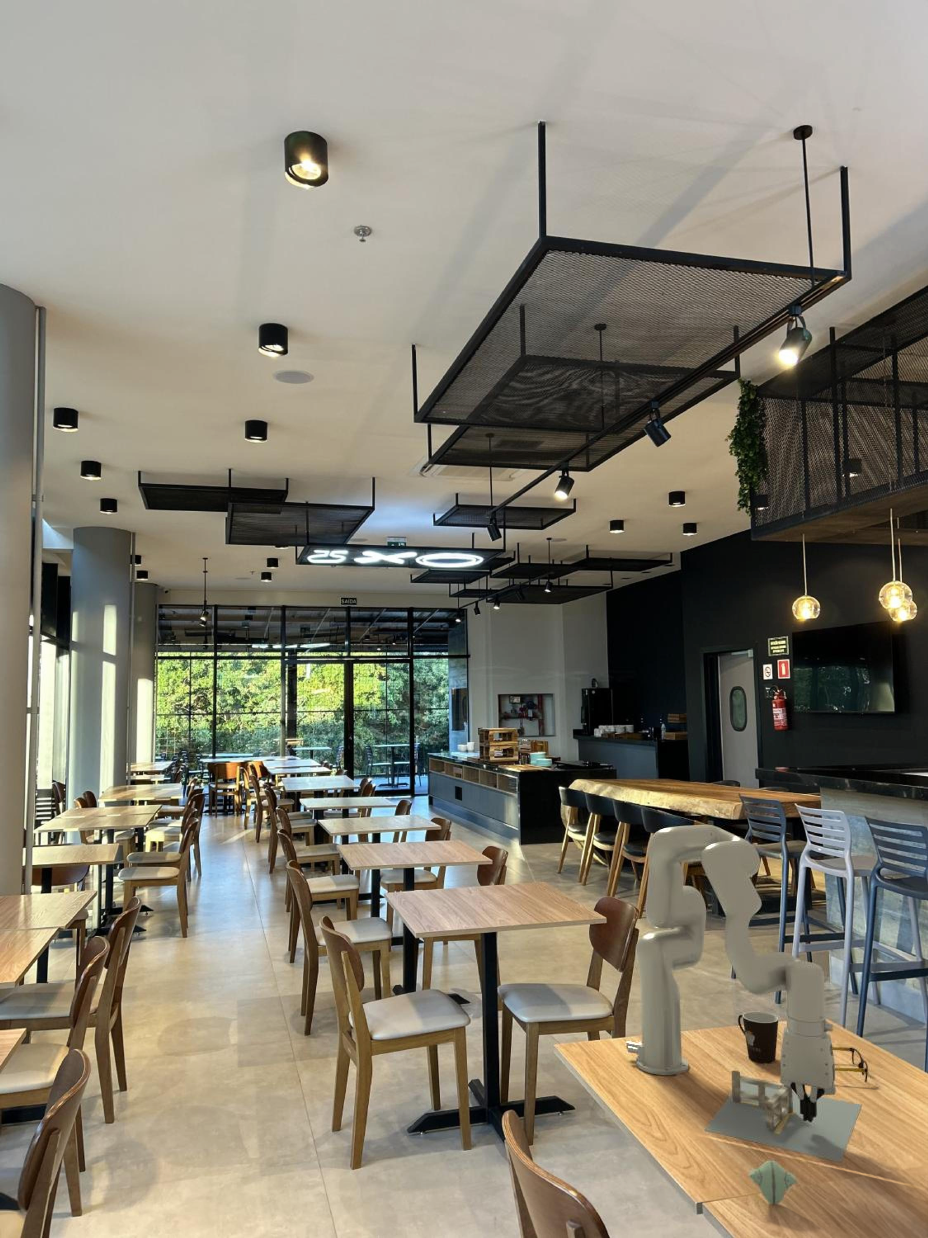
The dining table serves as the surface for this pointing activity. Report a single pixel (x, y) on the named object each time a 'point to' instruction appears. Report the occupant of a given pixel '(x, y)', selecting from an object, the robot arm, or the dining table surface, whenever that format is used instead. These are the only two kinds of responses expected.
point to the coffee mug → (760, 1036)
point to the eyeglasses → (860, 1065)
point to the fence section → (761, 1089)
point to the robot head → (772, 1181)
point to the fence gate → (777, 1107)
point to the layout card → (789, 1124)
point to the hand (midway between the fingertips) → (808, 1119)
